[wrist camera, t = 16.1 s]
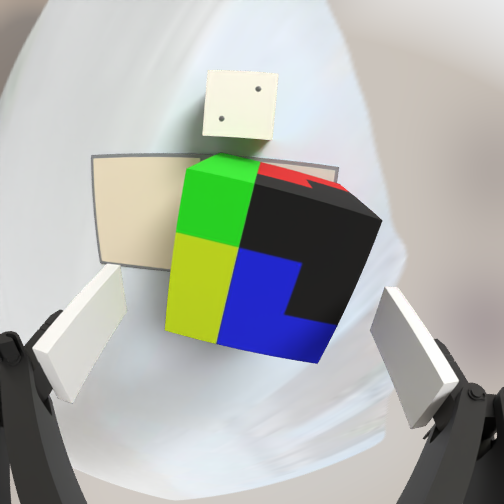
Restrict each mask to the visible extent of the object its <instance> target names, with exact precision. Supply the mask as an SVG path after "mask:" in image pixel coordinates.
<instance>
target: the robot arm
mask: <svg viewBox="0 0 504 504" xmlns="http://www.w3.org/2000/svg"><path fill="white" fill-rule="evenodd" d="M126 312H127V306H126V300H125V294H124V288H123V281H122V274H121V267H120V265H115V264H106V265H105V266H104V267H103V269H102V270H101V271H100V272H99V273H98V274H97V275H96V276H95V277H94V278H93V279H92V280H91V281H90V282H89V283H88V284H87V285H86V286H85V287H84V288H83V290H82V291H81V292H80V293H79V294H78V295H77V296H76V297H75V298H74V299H73V301H72V302H71V303H70V304H69V305H68V306H67V307H66V308H65V309H64V311H63V310H59V311H57V312H55V313H54V314H52V315H51V316H50V317H49V318H48V319H47V320H46V321H45V324H43V325H42V326H41V327H40V329H39V330H37V332H36V333H35V334H34V335H33V336H32V338H31V339H30V340H29V341H28V342H27V344H26V345H25V346H23V344H22V341H21V339H20V337H19V335H18V334H17V333H16V332H12V331H8V332H4V333H2V334H0V504H11V494H10V466H11V470H12V474H13V479H14V482H15V486H16V490H17V494H18V497H19V500H20V503H21V504H87V502H86V500H85V498H84V495H83V493H82V491H81V489H80V486H79V484H78V481H77V479H76V477H75V474H74V471H73V469H72V466H71V464H70V461H69V458H68V455H67V452H66V449H65V446H64V443H63V440H62V437H61V433H60V430H59V427H58V423H57V419H56V416H55V412H54V408H53V403H52V400H51V398H50V396H49V394H50V392H51V391H52V389H53V391H54V392H55V394H56V396H57V398H58V399H61V400H64V401H66V402H69V403H72V404H73V402H74V400H75V398H76V397H77V395H78V393H79V391H80V389H81V387H82V386H83V384H84V382H85V380H86V378H87V377H88V375H89V373H90V371H91V370H92V368H93V366H94V365H95V363H96V361H97V359H98V358H99V356H100V354H101V353H102V351H103V349H104V348H105V346H106V344H107V343H108V341H109V339H110V338H111V336H112V334H113V333H114V331H115V330H116V328H117V326H118V325H119V323H120V322H121V320H122V318H123V317H124V315H125V314H126ZM370 331H371V334H372V336H373V338H374V340H375V342H376V345H377V347H378V349H379V351H380V354H381V356H382V358H383V361H384V363H385V365H386V368H387V370H388V372H389V375H390V377H391V380H392V382H393V385H394V387H395V389H396V392H397V394H398V397H399V400H400V402H401V405H402V407H403V410H404V412H405V415H406V418H407V420H408V423H409V426H410V429H414V428H419V427H423V426H426V425H427V423H428V422H429V421H430V420H431V419H432V417H433V419H434V421H435V424H434V426H433V427H432V428H431V429H430V430H429V431H428V432H427V434H426V435H425V436H424V438H423V439H426V438H427V437H428V439H427V442H426V444H425V446H424V449H423V451H422V453H421V455H420V458H419V460H418V462H417V464H416V466H415V469H414V471H413V473H412V475H411V477H410V479H409V481H408V483H407V485H406V487H405V489H404V490H403V493H402V494H401V496H400V498H399V500H398V501H397V503H396V504H462V503H463V504H504V387H502V388H501V390H500V391H499V392H498V394H497V395H494V394H486V392H485V390H484V389H483V388H482V387H481V386H479V385H478V384H475V383H468V381H467V380H466V378H465V376H464V375H463V373H462V371H461V370H460V368H459V367H458V365H457V363H456V362H454V359H453V357H452V355H450V352H449V351H448V349H447V348H446V346H445V345H444V344H443V343H441V342H440V341H439V340H438V339H433V338H432V336H431V335H430V333H429V332H428V330H427V329H426V327H425V326H424V324H423V323H422V321H421V320H420V319H419V317H418V315H417V314H416V313H415V311H414V310H413V308H412V307H411V305H410V304H409V302H408V301H407V300H406V298H405V297H404V296H403V294H402V293H401V291H400V290H399V289H398V287H384V291H383V294H382V297H381V300H380V303H379V306H378V309H377V312H376V315H375V318H374V320H373V323H372V326H371V329H370ZM496 432H497V438H496V439H494V434H495V433H496Z"/></svg>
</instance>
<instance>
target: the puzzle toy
mask: <svg viewBox="0 0 504 504" xmlns="http://www.w3.org/2000/svg"><path fill="white" fill-rule="evenodd" d="M381 223H382V220H381V219H380V218H379V217H378V216H377V215H376V214H375V213H374V212H372V211H371V210H370V209H369V208H368V207H367V206H365V205H364V204H363V203H362V202H361V201H360V200H358V199H357V198H356V197H355V196H354V195H352V194H351V193H350V192H349V191H347V190H346V189H345V188H344V187H343V186H341V185H340V184H338V183H335V182H332V181H328V180H325V179H322V178H318V177H315V176H312V175H308V174H305V173H301V172H298V171H294V170H290V169H287V168H283V167H279V166H275V165H271V164H267V163H263V162H259V161H255V160H251V159H247V158H243V157H238V156H234V155H229V154H225V153H218V154H216V155H214V156H211V157H209V158H207V159H205V160H203V161H201V162H199V163H197V164H194V165H192V166H190V167H188V168H186V173H185V179H184V184H183V190H182V196H181V202H180V208H179V214H178V220H177V227H176V234H175V241H174V248H173V256H172V264H171V272H170V280H169V290H168V299H167V310H166V321H165V331H169V332H172V333H176V334H180V335H183V336H187V337H191V338H195V339H198V340H202V341H206V342H210V343H214V344H219V345H223V346H227V347H231V348H236V349H240V350H245V351H250V352H254V353H259V354H264V355H269V356H275V357H280V358H286V359H291V360H297V361H303V362H309V363H316V364H318V362H319V360H320V358H321V356H322V355H323V353H324V351H325V349H326V347H327V345H328V343H329V341H330V339H331V337H332V335H333V333H334V331H335V329H336V327H337V325H338V323H339V321H340V319H341V317H342V315H343V313H344V311H345V309H346V307H347V304H348V302H349V300H350V298H351V296H352V293H353V291H354V289H355V287H356V285H357V282H358V280H359V278H360V275H361V273H362V271H363V268H364V266H365V264H366V261H367V259H368V256H369V254H370V251H371V249H372V246H373V244H374V241H375V239H376V236H377V234H378V231H379V228H380V226H381Z"/></svg>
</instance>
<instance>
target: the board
mask: <svg viewBox="0 0 504 504" xmlns="http://www.w3.org/2000/svg"><path fill="white" fill-rule="evenodd" d="M211 156H214V155H206V154H168V153H144V154H107V155H91V163H92V188H93V203H94V215H95V225H96V234H97V242H98V250H99V257H100V263H105V264H115V265H120V266H128V267H136V268H144V269H153V270H161V271H170V272H171V264H172V256H173V248H174V241H175V234H176V227H177V220H178V214H179V208H180V202H181V196H182V190H183V184H184V179H185V173H186V168H188V167H190V166H192V165H194V164H197V163H199V162H201V161H203V160H205V159H207V158H209V157H211ZM238 157H242V156H238ZM243 158H247V159H251V160H255V161H259V162H263V163H267V164H271V165H275V166H279V167H283V168H287V169H290V170H294V171H298V172H301V173H305V174H308V175H312V176H315V177H318V178H322V179H325V180H328V181H332V182H335V183H337V178H338V171H339V167H334V166H327V165H320V164H312V163H304V162H296V161H287V160H277V159H266V158H255V157H243Z"/></svg>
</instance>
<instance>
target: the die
mask: <svg viewBox="0 0 504 504" xmlns="http://www.w3.org/2000/svg"><path fill="white" fill-rule="evenodd" d="M277 85H278V74H275V73H264V72H251V71H230V70H208V74H207V85H206V96H205V108H204V121H203V135H202V136H224V137H240V138H253V139H264V140H272V138H273V128H274V117H275V107H276V96H277Z"/></svg>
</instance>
